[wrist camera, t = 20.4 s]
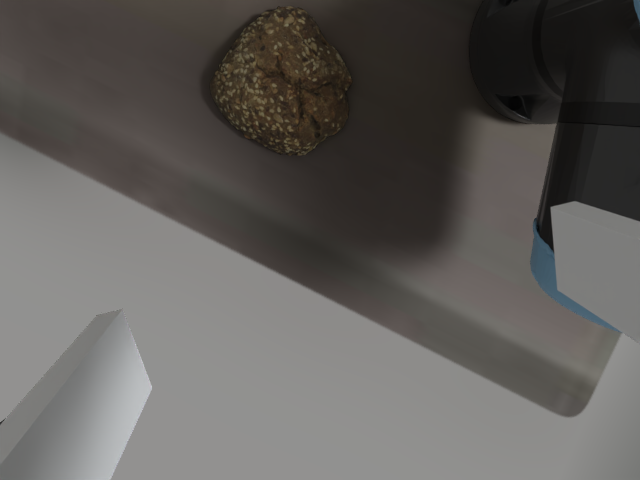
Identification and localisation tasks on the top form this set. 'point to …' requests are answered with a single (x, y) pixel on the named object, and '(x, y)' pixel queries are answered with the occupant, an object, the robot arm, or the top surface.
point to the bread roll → (283, 83)
